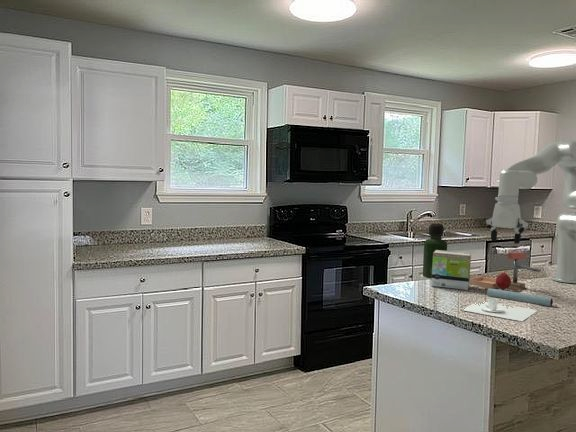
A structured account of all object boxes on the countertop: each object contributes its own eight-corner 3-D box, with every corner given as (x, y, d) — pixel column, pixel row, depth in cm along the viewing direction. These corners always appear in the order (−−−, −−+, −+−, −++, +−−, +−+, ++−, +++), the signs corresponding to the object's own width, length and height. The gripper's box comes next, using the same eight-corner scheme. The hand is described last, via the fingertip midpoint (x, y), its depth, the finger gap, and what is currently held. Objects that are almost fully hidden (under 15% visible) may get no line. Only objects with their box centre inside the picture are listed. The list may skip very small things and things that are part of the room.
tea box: (430, 286, 210) (432, 252, 209) (433, 282, 219) (434, 249, 218) (468, 290, 204) (470, 254, 203) (469, 286, 213) (471, 251, 212)
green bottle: (448, 279, 227) (451, 225, 225) (425, 279, 227) (428, 224, 225) (442, 275, 237) (444, 223, 235) (420, 274, 237) (422, 222, 236)
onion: (512, 292, 203) (513, 272, 202) (497, 291, 204) (498, 271, 203) (508, 289, 209) (509, 270, 208) (494, 288, 210) (495, 269, 209)
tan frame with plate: (506, 284, 219) (506, 280, 218) (530, 289, 210) (530, 284, 210) (484, 289, 207) (484, 284, 207) (509, 294, 199) (509, 289, 199)
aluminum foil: (552, 306, 183) (553, 297, 182) (548, 309, 177) (548, 300, 177) (489, 296, 197) (489, 287, 197) (483, 298, 192) (483, 290, 192)
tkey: (506, 282, 212) (508, 252, 211) (520, 281, 214) (521, 252, 214) (530, 288, 200) (532, 257, 199) (544, 288, 202) (546, 256, 201)
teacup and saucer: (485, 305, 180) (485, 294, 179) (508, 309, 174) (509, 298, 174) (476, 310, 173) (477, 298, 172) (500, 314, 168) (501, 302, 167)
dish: (480, 281, 226) (481, 276, 225) (506, 285, 216) (506, 280, 216) (466, 283, 218) (466, 279, 218) (492, 288, 209) (492, 283, 209)
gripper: (483, 199, 208) (480, 240, 209) (524, 201, 195) (521, 244, 196) (492, 199, 213) (489, 239, 214) (533, 201, 199) (530, 244, 200)
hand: (505, 242), depth 205 cm, fingers open, 9 cm apart
